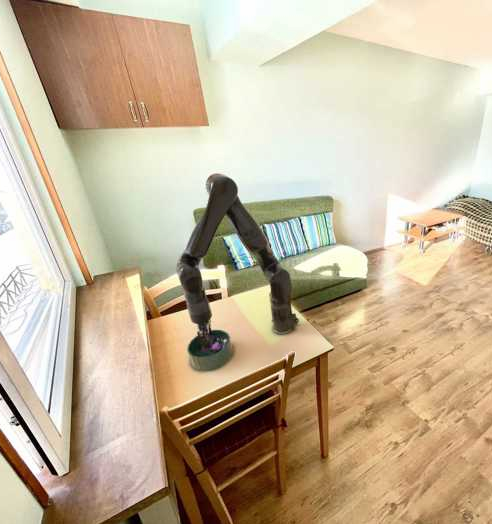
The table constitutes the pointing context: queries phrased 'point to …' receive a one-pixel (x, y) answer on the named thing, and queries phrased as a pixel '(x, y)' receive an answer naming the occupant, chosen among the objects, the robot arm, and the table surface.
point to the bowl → (209, 360)
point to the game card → (216, 345)
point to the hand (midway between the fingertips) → (208, 340)
